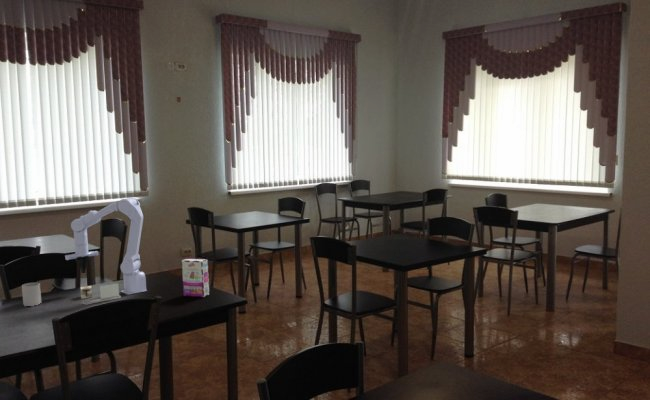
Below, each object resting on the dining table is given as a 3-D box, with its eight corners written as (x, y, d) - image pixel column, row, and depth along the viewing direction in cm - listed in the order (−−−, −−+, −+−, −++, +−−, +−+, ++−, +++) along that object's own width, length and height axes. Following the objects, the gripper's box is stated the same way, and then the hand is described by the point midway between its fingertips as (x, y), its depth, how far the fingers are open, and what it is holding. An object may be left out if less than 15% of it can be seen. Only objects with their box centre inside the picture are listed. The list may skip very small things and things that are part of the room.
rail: (118, 296, 272) (118, 295, 272) (121, 297, 270) (121, 296, 270) (83, 303, 261) (83, 302, 261) (85, 305, 260) (85, 303, 260)
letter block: (91, 295, 276) (91, 285, 276) (92, 297, 272) (91, 288, 272) (81, 296, 275) (80, 286, 274) (81, 299, 270) (80, 289, 270)
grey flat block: (118, 295, 271) (117, 283, 270) (119, 295, 270) (118, 283, 269) (100, 298, 266) (99, 286, 265) (101, 299, 265) (100, 286, 264)
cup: (24, 307, 258) (22, 287, 257) (21, 302, 267) (19, 283, 266) (42, 304, 262) (41, 284, 261) (39, 299, 270) (37, 280, 270)
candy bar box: (210, 294, 271) (208, 259, 269) (203, 297, 266) (202, 261, 264) (189, 293, 275) (187, 257, 273) (182, 295, 270) (180, 260, 269)
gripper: (93, 241, 287) (95, 268, 288) (62, 245, 277) (64, 274, 279) (99, 242, 282) (101, 271, 283) (67, 247, 272) (69, 276, 274)
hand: (83, 272), depth 281 cm, fingers closed
